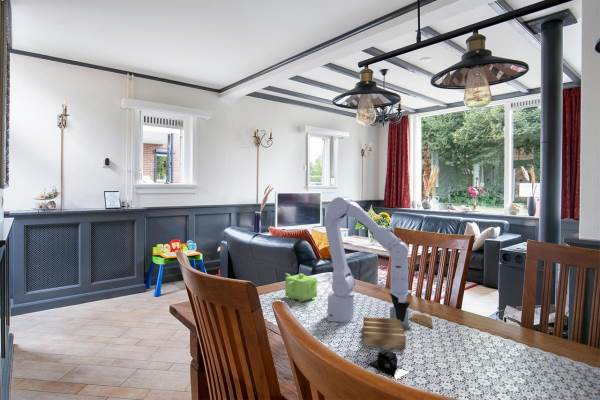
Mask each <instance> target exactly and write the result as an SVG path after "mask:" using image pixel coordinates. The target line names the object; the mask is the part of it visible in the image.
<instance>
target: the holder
mask: <svg viewBox="0 0 600 400" xmlns="http://www.w3.org/2000/svg"><path fill="white" fill-rule="evenodd" d="M402 329H404V330H406V331H407V330H408V331H409V330H410V331H411V330H412V329H411V326H410V323H409V321H408V326H402Z"/></svg>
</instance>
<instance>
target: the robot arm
mask: <svg viewBox="0 0 600 400" xmlns="http://www.w3.org/2000/svg"><path fill="white" fill-rule="evenodd" d="M346 216H347V217H351V218H355V219H356V220H358V221H359V222H360V223H361V224H362V225H363V226H364V227H366V228H367V229H368V230H369V231H370V232H371V233H372V238H373V240H375V241H376V242H377V243H378V244H379V245H380V246H381V247H382V248H383V249H384V250H385V251H387V252H388V253H389V256H390V258H391V259H390V262H391V263H390V289H389V295H390V298H391V301H392V305H393V306H392V307H395V311H396V318H397V320H400V322H404V320H405V315H406V311H407V308H408V309H409V306H410V304H411V303H410V302H411V301H409V300H406V297H407V296H408V295H411V294H413V293H412V290H409V264H408V262H409V260H408V255H409V252H410V251H409V249H410V248H409V247H408V246H409V245H407V243H406V242H405V241H402V239H401V238H400V237H397V236H396V235H395V234H394V233H393V232H392V229H391V228H390V227H387V226H385V225H379V224H378V223H377V222H376V221H375V220H374V219H373V218H372V217H371V216H370V215H369V214H368V213H367V212H366V211H365V210H364V209H363V208H362V207H361V206H360V205H359V204H358V203H357V202H356V201H353V199H352V198H351V197H348V196H343V197H340V196H337V197H335V198H333V199H332V200H331V201H330V203H329V204H328V206H327V212H326V215H325V217H324V220H323V222H324V227H325V233H326V238H327V242H328V243H327V244H328V247H329V252H330V257H331V263H332V267H333V272H332V285H331V289H332V291H333V293H328V295H327V296H328V297H327V309H326V314H327V322H337V323H338V322H339V323H341V322H342V323H355V321H356V319H355V317H356V316H355V313H354V309H355V307H354V305H355V304H354V303H355V302H354V301H355V300H354V299H355V297H354V296H355V294H354V291H353V289H354V287H355V285H356V279H355V277H354V275H353V274H352V271H351V269H350V267H349V265H348V261H347V256H346V252H345V247H344V242H343V237H342V233H341V227H340V223H342V220H343V219H344V218H345V217H346Z"/></svg>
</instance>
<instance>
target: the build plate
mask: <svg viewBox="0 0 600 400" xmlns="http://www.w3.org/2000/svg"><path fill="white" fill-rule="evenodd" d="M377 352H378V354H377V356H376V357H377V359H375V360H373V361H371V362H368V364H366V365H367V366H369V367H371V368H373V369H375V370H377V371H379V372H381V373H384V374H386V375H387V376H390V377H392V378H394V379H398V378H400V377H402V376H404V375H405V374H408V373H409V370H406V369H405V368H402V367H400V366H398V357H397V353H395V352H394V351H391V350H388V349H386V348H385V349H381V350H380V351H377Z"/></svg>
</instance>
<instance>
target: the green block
mask: <svg viewBox="0 0 600 400" xmlns="http://www.w3.org/2000/svg"><path fill="white" fill-rule="evenodd" d="M284 274H285V275H286V277H285V290H284V291H285V292H284V293H285V294H284V295H285V297H288V298H290V300H298V302H299V303H304V301H306V300H307V301H308V300H312V299H314V298H317V296H318V295H317V294H318V290H317V289H318V282H319V280H318V278H317V277H314V276H309V275H305V274H304V273H298V274H295V275H291V274H290V273H286V272H285V273H284Z"/></svg>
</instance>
